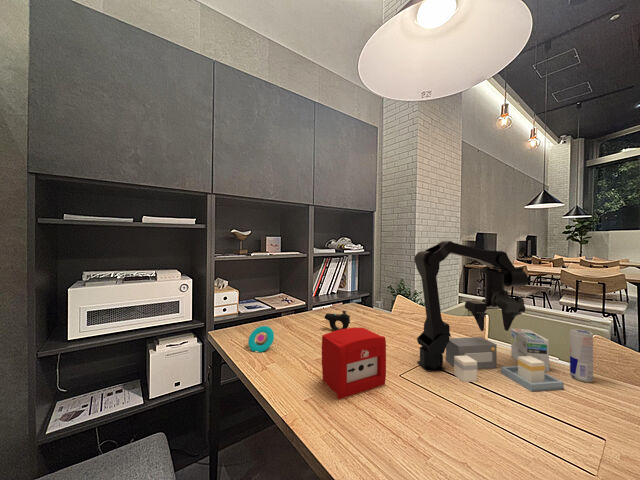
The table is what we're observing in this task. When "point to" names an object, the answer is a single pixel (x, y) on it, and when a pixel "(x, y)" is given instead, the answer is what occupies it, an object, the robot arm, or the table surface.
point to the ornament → (261, 339)
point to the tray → (548, 383)
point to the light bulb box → (529, 346)
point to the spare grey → (465, 368)
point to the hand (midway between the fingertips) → (494, 330)
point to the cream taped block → (531, 369)
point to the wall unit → (473, 351)
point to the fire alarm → (353, 361)
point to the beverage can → (581, 355)
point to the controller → (338, 317)
